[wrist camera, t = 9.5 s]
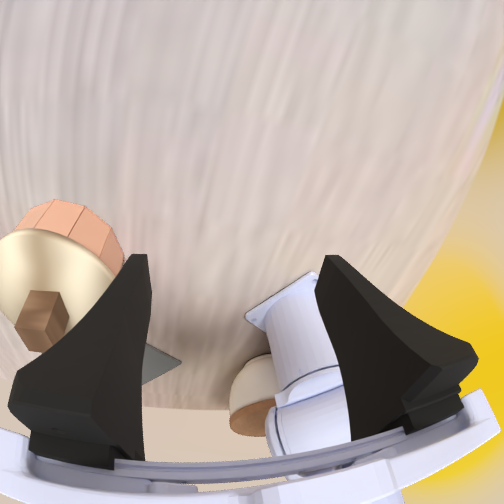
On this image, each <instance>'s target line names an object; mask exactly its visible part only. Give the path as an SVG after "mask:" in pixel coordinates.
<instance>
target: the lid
mask: <svg viewBox="0 0 504 504" xmlns="http://www.w3.org/2000/svg"><path fill="white" fill-rule="evenodd" d="M114 278H115V276H114V274H113V273H112V272H111V270H110V269H109V268H108V267H107V266H106V265H105V264H104V263H103V262H102V261H101V260H100V259H99V258H98V257H97V256H96V255H95V254H94V253H92V252H91V251H90V250H88V249H87V248H86V247H84V246H83V245H81V244H80V243H78V242H76V241H74V240H72V239H71V238H68V237H66V236H64V235H61V234H59V233H56V232H52V231H49V230H44V229H36V228H26V229H19V230H16V231H12V232H10V233H8V234H7V235H5V236H4V237H3V238H1V239H0V310H1V311H2V313H3V314H4V315H5V316H6V317H7V318H8V319H9V320H10V321H11V322H12V323H13V324H14V325H15V326H14V328H15V329H16V331H17V333H18V334H19V336H20V337H21V339H22V341H23V342H24V344H25V345H26V347H27V348H28V350H29V351H34V352H41V353H44V352H46V351H47V350H48V349H49V348H51V347H52V346H53V345H54V344H56V343H57V342H58V341H59V340H60V339H61V338H63V337H64V336H65V335H66V334H67V333H68V332H69V331H70V330H71V329H72V328H73V327H74V326H75V325H76V324H77V323H78V322H79V321H80V320H81V319H82V318H83V317H84V316H85V315H86V314H87V312H88V311H89V310H90V309H91V308H92V307H93V306H94V304H95V303H96V302H97V301H98V299H99V298H100V297H101V296H102V294H103V293H104V292H105V291H106V289H107V288H108V286H109V285H110V284H111V282H112V281H113V280H114Z"/></svg>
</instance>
